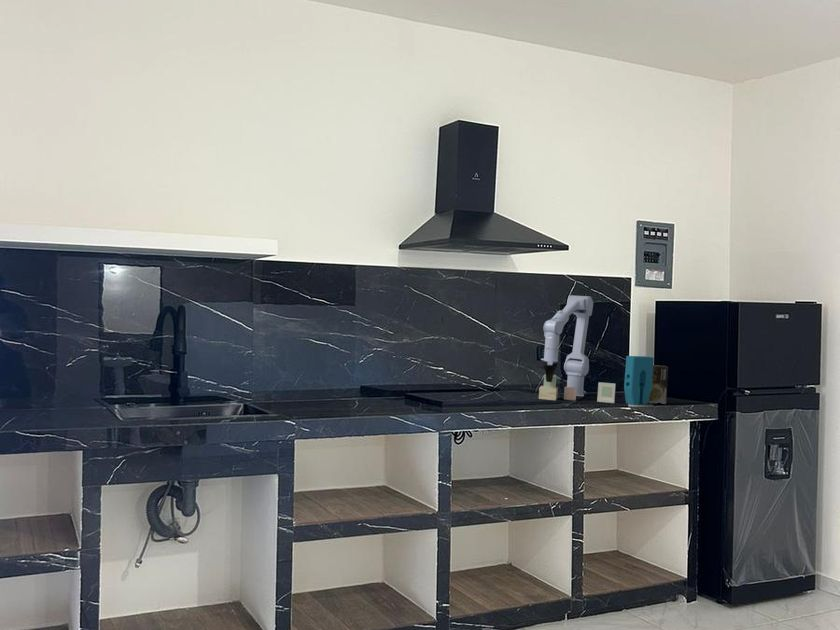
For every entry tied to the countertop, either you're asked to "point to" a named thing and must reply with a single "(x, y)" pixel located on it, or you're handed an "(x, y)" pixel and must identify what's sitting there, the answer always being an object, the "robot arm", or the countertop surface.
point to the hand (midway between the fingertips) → (549, 381)
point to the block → (638, 379)
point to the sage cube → (550, 384)
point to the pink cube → (570, 393)
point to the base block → (548, 393)
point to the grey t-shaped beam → (606, 392)
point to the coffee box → (659, 385)
